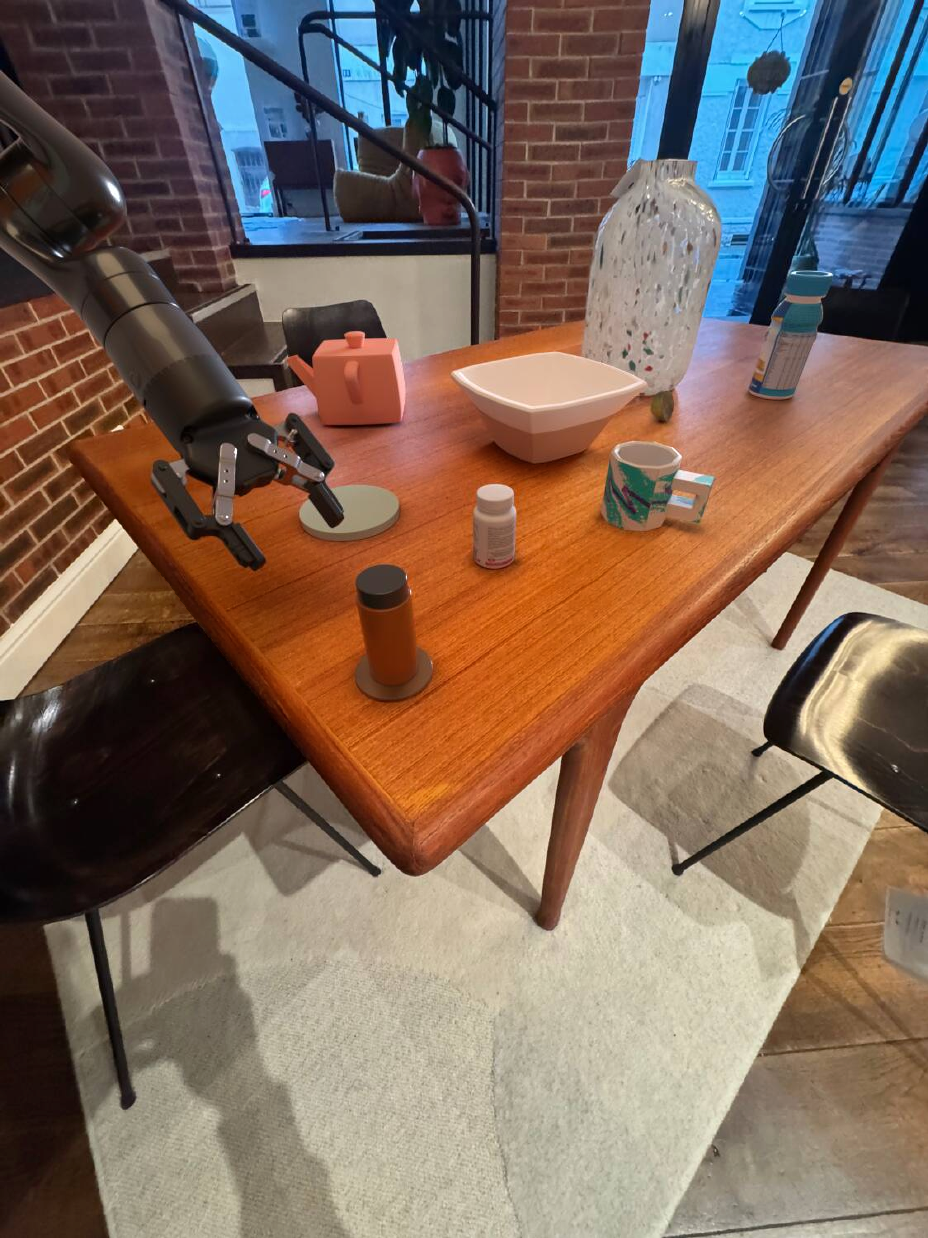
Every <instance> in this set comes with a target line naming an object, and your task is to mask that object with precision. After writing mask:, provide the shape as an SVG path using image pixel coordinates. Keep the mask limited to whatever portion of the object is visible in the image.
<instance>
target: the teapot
mask: <svg viewBox="0 0 928 1238" xmlns="http://www.w3.org/2000/svg"><path fill="white" fill-rule="evenodd" d="M343 336H344V339H343V338H342V339H326V340H323V341H322V342H321V343H320V344H319V346H318V347H317V349H316V350H315V352H314V354H313V355H312V358H311V359H312V367H311V366H310V365H309V364H308V363H307V362H305V361H304V360H303V359H302V358H300V357H299V355H298V354H294V355H292V356H289V357H286V359H285V362H286V363H287V365H288V366H289V367H290V368H291V370H292V371H293V372H294V374H296V375H297V377H298V378H299V380H300V381H301V382H302V383H303V384H304V385H305V386H306V388H307V389H308V391H310V393H311V394H312V395H313V396H314V398H315V399H316V405H317V411H318V415H319V417H320V420H321V423H322V425H325V426H354V425H355V426H356V425H357V426H361V425H382V424H383V425H384V424H396V423H401V422H402V420H403V416H404V411H405V406H406V405H405V403H406V383H405V376H404V369H403V368H404V367H403V363H402V357H401V352H400V347H399V343H398V339H397V338H396V337H378V338H377V337H374V338H365V337H366V333H365V332H363V331H361V330H359V331H358V330H357V331H356V330H355V331H354V330H353V331H347V332H346V333H344V335H343Z"/></svg>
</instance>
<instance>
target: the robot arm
mask: <svg viewBox="0 0 928 1238" xmlns="http://www.w3.org/2000/svg"><path fill="white" fill-rule="evenodd" d="M0 122H1V123H2V124H4V125H5V126H7V127H8V128H9V129H11V130H12V131H13V132H14V134H16V135H17V136H18V138H17V139H16V140H15V141H14V142H13V143H11V144H10V145H8V146H7V148H5V149H4V150H3V151H1V152H0V248H1V249H2V250H3V251H4V252H6V253H7V254H8V255H9V256H11V257H12V258H13V259H15V260H16V261H17V262H18V263H20V264H21V265H22V266H24V268H26V269H27V270H29V271H30V272H31V273H32V274H33V275H35V276H36V277H37V278H39V279H40V280H41V281H42V282H43V283H45V284H46V285H47V286H48V287H49V288H50V289H51V290H52V291H53V292H55V293H56V294H57V296H59V297H60V298H61V300H63V302H64V303H66V305H68V306H69V308H70V309H71V310H72V311H73V312H74V313H75V314H76V315H77V316H78V318H79V319H80V320H81V322H82V323H83V324H84V325H85V326H86V328H87V329H88V331H89V332H90V333H91V334H92V336H93V337H94V339H95V340H96V341H97V343H98V344H99V346H100V347H101V349H103V351H104V352H105V354H106V356H108V357H109V359H110V360H111V363H112V364H113V365H114V368H115V369H116V370H117V373H118V375H119V376H120V378H121V380H122V381H123V382H124V384H125V385H126V387H127V388H128V389H129V390H130V392H131V394H132V395H133V396H134V398H135V399H136V400H137V402H138V403H139V404H140V405H141V407H142V408H143V410H145V413H147V415H148V416H149V417H150V418H151V420H152V421H153V423H154V424H155V425H156V427H157V428H158V429H159V431H160V432H161V434H163V435H162V436H164V438H165V439H166V440H167V441H168V443H169V444H170V445H171V447H172V448H173V450H175V451H176V452H177V453H178V454H179V456H180V458H181V459H178V460H174V461H171V462H168V461H166V460H163V459H157V460H155V461H153V463H152V466H151V467H152V468H151V473H150V484H151V486H152V487H153V489H154V491H156V493H157V495H158V496H159V497H160V499H161V500H162V502H163V503H164V505H165V506H166V508H167V509H168V511H169V512H170V513H171V515H172V517H173V518H174V520H175V522H176V523H177V524H178V525H179V528H181V530H182V531H183V533H184V534H185V536H186V537H187V538H188V539H189V540H192V541H199V540H201V539H202V538H207V537H214V538H217V539H219V540H220V541H221V543H222V544H223V545H224V546H225V548H226V549H227V550H228V552H229V553H230V554H231V555H232V557H233V558H234V559H235V561H236V562H237V563H238V565H239V566H241V567H242V568H244V569H247V568H249V569H250V570H251V571H252V572H253V573H256V572H257V571H259V570H261V569H263V568H264V566H265V565H266V562H267V558H266V557H265V554H264V553H262V551H261V549H260V548H259V547H258V546H257V544H256V543H255V542H254V540H253V539H252V538H251V536H250V534H248V532H247V531H246V530H245V529H244V527H243V526H242V524H241V523H240V522H239V521H238V522H234V520H233V509H234V498H235V496H238V497H239V498H241V497H244V496H246V495H248V494H250V492H252V491H253V490H255V489H259V488H261V489H262V488H264V487H267V486H269V485H271V483H272V481H273V482H275V483H278V484H279V485H282V486H285V487H287V486H291V487H294V488H295V489H297V490H300V491H302V492H304V493H306V494H308V495H307V498H308V499H309V500H310V501H311V502H312V504H313V505H314V506H315V508H316V509H317V511H318V512H319V513H320V515H321V516H322V517H323V519H324V520H325V522H326V523H327V524H328V526H329V527H330V528H335V527H336V526H338V525H339V524H340V523H341V522H342V521H343V520H344V514H343V512H344V509H343V506H342V504H341V503H340V502H339V500H338V499H337V497H336V496H335V495H334V493H333V492H332V490H331V488H330V486H329V484H328V483H327V478H328V476H329V475H330V473H331V471H332V470H333V469H334V468H335V466H336V462H335V460H334V459H333V457H332V456H331V455H330V454H329V453H328V451H327V450H326V448H325V447H324V445H322V444H321V442H320V441H319V439H317V437H316V436H315V435H314V433H313V432H312V430H310V428H309V427H308V426H307V424H306V423H305V422H304V420H303V419H302V418H301V417H300V415H299V414H297V413H296V412H289V413H288V414H287V416H286V417H285V420H284V421H282V422H279V423H277V424H275V425H271V424H269V423H267V422H266V421H265V420H264V419H262V417H260V415H259V413H258V411H257V408H256V407H255V404H254V402H253V401H252V399H251V398H250V396H249V395H248V394H247V392H246V391H245V389H243V387H242V386H241V384H240V383H239V381H238V380H237V379H236V378H235V376H234V374H233V373H232V372H231V370H230V369H229V368H228V366H227V365H226V364H225V362H224V361H223V359H222V358H221V356H220V355H219V353H218V352H217V351H216V349H215V348H214V347H213V345H212V344H211V342H210V341H209V340H208V339H207V337H206V336H205V335H204V333H203V332H202V331H201V330H200V329H199V328H198V327H197V326H196V325H195V323H194V322H192V320H191V319H190V318H189V317H188V316H187V315H186V313H185V312H184V311H183V309H182V307H181V306H180V305H179V303H178V302H177V301H176V299H175V298H174V297H173V295H172V294H171V292H170V291H169V289H168V288H167V287H166V286H165V284H164V283H163V281H162V280H161V279H160V277H159V275H158V274H157V273H156V272H155V271H154V269H153V267H152V266H151V265H150V264H149V263H148V262H147V261H146V260H145V259H144V258H143V257H142V256H141V255H140V254H139V253H137V252H136V251H134V250H133V249H130V248H128V247H124V246H118V245H103V246H99V245H100V244H102V243H103V242H104V241H105V240H107V239H108V238H109V237H111V236H112V235H113V234H115V233H116V232H117V231H118V230H119V229H120V228H121V227H122V226H123V225H124V224H125V222H126V219H127V216H128V207H127V202H126V198H125V194H124V191H123V189H122V187H121V184H120V183H119V181H118V180H117V177H116V176H115V175H114V173H113V172H112V171H111V169H110V168H109V167H108V165H107V164H106V163H105V162H104V161H103V160H102V159H101V158H100V157H99V156H98V155H97V154H96V152H94V151H93V150H92V149H91V148H90V147H89V146H87V145H86V144H85V142H83V141H82V140H80V138H78V136H76V135H75V134H73V133H72V132H71V131H70V130H69V129H67V128H66V127H65V126H64V125H63V124H62V123H61V122H59V121H58V120H57V119H55V118H54V117H53V116H52V115H51V114H50V113H48V112H47V111H46V110H45V109H43V107H42V106H41V105H39V104H38V103H37V102H36V101H34V100H33V98H31V97H30V96H28V94H27V93H25V92H24V91H23V90H22V89H21V87H19V86H18V85H17V84H15V82H14V81H13V80H12V79H11V78H9V77H8V76H7V74H5V73H4V72H3V70H1V69H0ZM279 442H282V443H283V444H284V447H286V448H291V449H292V450H293V452H294V453H293V452H291V451H289V450H286V449H285V448H282V447H280V445H279ZM280 465H282V466H283V467H284V468H282V467H280ZM187 476H189V477H190V478H192V479H194V480H196V481H199V482H201V483H203V484H205V485H207V486H210V487H211V496H210V497H211V499H210V511H211V514H204V513H203V512H202V511H201V509H200V507H199V506H198V504H197V503H196V501H195V500H194V499H193V497H192V495H191V494H190V492H189V491H188V490H187V485H188V478H187Z"/></svg>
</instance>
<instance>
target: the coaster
mask: <svg viewBox="0 0 928 1238" xmlns="http://www.w3.org/2000/svg"><path fill="white" fill-rule="evenodd" d="M417 652H418V661H419V669H418V672H417V674H416V675H415V676H414V677H413V678H412V679H411V680H410V681H408V682H406V683H404V684H401V685H396V686H387V685H383V684H380V683H378V682H377V681H375V680H374V679H373V677H372V676H371V673H370V669H369V664H368V658H367V653H366V652H365V654H364V655H362V657H361V658H360V659H359V661H358V662H357V664H356V666H355V670H354V679H355V683H356V686H357V688H358V690H359V691H360V692H361V693H362V694H364V695H365V696H367V697H368V698H370V699H372V700H375V701H378V702H385V703H394V702H401V701H405V700H408V699H411V698H413V697H415V696H417V695H418V694H420V693H421V692H422V691H424V690H425V688H427V686H428V685H429V684H430V682H431V680H432V678H433V673H434V667H433V661H432V659H431V657H430V656H429V654H428V653H427V652H426V651H425V650H423V648H420V647H418V646H417Z"/></svg>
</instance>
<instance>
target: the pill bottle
mask: <svg viewBox="0 0 928 1238" xmlns="http://www.w3.org/2000/svg"><path fill="white" fill-rule="evenodd" d="M514 495H515V492H514V490H513V489H512V488H511V487H510V486H508V485H505V484H501V483H500V484H499V483H491V484H485V485H483V486H480V487H479V488H478V489H477V490H476V495H475V496H476V497H475V502H476V506H475V507H474V508H473V512H472V546H473V547H472V549H473V554H472V555H473V560H474V562H475V563H476V564H478V566H481V567H483V568H485V569H495V570H496V569H502V568H505V567H507V566H509V565H511V563H512V562H513V561H514V560H515V552H516V551H515V549H516V548H515V547H516V527H517V509H516V507H515V506H514V503H515V496H514Z"/></svg>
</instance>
